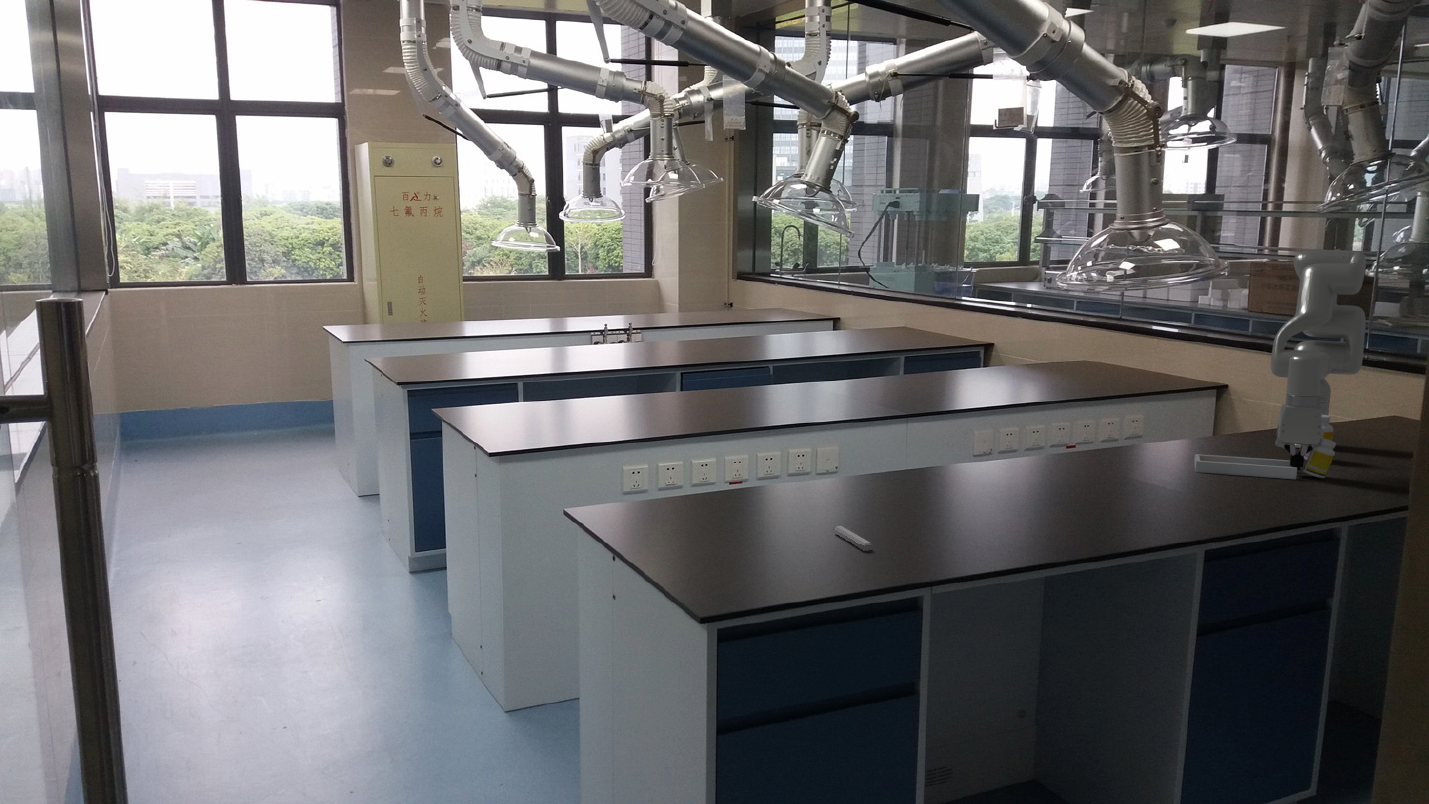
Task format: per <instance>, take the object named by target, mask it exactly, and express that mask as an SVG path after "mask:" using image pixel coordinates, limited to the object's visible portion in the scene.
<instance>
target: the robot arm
mask: <svg viewBox="0 0 1429 804" xmlns="http://www.w3.org/2000/svg"><path fill="white" fill-rule="evenodd" d="M1293 267H1294V270H1295V273H1296V275H1297V278H1298V280H1299V285H1298V292H1297V301H1296V309H1295V314H1294V316H1293V317H1291V318H1290V319H1289V320H1288V321H1286V322H1285V323H1284V324H1283V325H1282V326H1281V327H1280V329H1279V330H1278V331H1277V333H1276V334H1275V337H1274V339H1273V344H1272V348H1271V349H1272V350H1271V355H1270V356H1271V358H1270V370H1271V373H1272V374H1273V375H1274V376H1276V377H1279V378H1287V381H1286V392H1285V404H1282V405H1281V407H1280V409H1279V414H1278V420H1277V427H1276V440H1275V442H1274V445H1275V446H1276V447H1277V448H1282V449H1285V450H1286V451H1287V452H1288V453H1289V454H1290V455H1289V456H1290V457H1289V461H1290V466H1292V467H1297V471H1301V468H1304V460H1305V459H1304V456H1305V455H1306V454H1307V453H1308V452H1310V451H1311V450H1312V449H1313V447H1314V446H1318V445H1319V444H1320V443H1321V438H1322V415H1328V416H1330V415H1329V414H1330V404H1331V403H1330V401H1331V393H1332V391H1331V390H1332V389H1331V385H1330V384H1329V382H1328V381H1327V380H1326V377H1328V376H1329V375H1345V376H1346V375H1356V374H1357V373H1359V372H1360V370H1361V369H1362V366H1363V359H1364V346H1365V336H1366V335H1365V334H1366V314H1365V311H1364V309H1363V308H1361V307H1360V306H1357V305H1346V304H1343V305H1341V304H1337V301H1338V295H1345V296H1346V295H1348V296H1351V295H1352V296H1353V295H1356V294H1358V293H1359V292H1360V290H1361V288H1362V286H1363V282H1364V278H1365V277H1364V276H1365V272H1366V267H1367V259H1366V256H1365V254H1364V253H1363V252H1362V251H1360V250H1344V249H1343V250H1339V249H1338V250H1335V249H1333V250H1332V249H1312V250H1311V249H1310V250H1303V251H1300V252H1298V253H1296V254H1295V255H1294V259H1293ZM1300 333H1303V334H1304V335H1306V336H1307V337H1314V338H1326V339H1342V340H1344V341H1333V340H1332V341H1331V340H1315V339H1313V340H1312V339H1311V340H1310V339H1309V340H1304V341H1301V342H1299V343H1297V344H1296V345H1295V347H1294V349H1285V347H1286V346H1285V345H1286V344H1287V342H1288V341H1289V339H1290V338H1292V337H1293V336H1295V335H1297V334H1300ZM1296 448H1297V449H1299V451H1298V452H1296Z"/></svg>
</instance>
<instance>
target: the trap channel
mask: <svg viewBox="0 0 1429 804" xmlns="http://www.w3.org/2000/svg"><path fill="white" fill-rule="evenodd" d="M1194 471H1195V473H1203V474H1216V475H1217V474H1218V475H1228V476H1229V475H1230V476H1231V475H1232V476H1242V477H1243V476H1246V477H1257V478H1272V479H1273V478H1274V479H1284V480H1285V479H1287V480H1297V474H1298V470H1297V467H1292V466H1290V459H1287V460H1285V459H1274V458H1259V457H1258V458H1257V457H1242V456H1230V455H1212V454H1201V453H1200V454H1198V453H1196V454H1194Z"/></svg>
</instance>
